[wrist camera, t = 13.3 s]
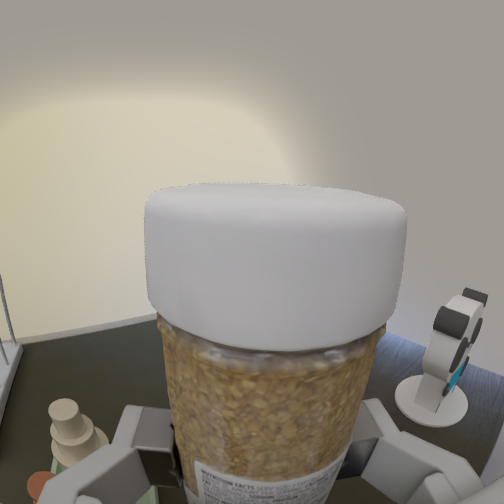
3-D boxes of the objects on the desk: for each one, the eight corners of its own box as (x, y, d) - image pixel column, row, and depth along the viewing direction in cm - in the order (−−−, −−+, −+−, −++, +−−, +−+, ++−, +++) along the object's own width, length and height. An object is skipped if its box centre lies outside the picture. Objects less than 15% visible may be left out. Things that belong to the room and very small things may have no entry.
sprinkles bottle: (211, 490, 11) (197, 181, 8) (308, 501, 10) (375, 191, 7) (184, 564, 7) (82, 188, 3) (300, 581, 6) (464, 209, 3)
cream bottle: (89, 515, 15) (37, 439, 12) (73, 476, 19) (29, 394, 16) (138, 500, 18) (104, 423, 16) (117, 464, 22) (86, 382, 19)
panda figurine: (445, 443, 24) (497, 331, 21) (375, 403, 33) (405, 296, 30) (476, 396, 31) (513, 300, 27) (418, 368, 40) (443, 277, 36)
